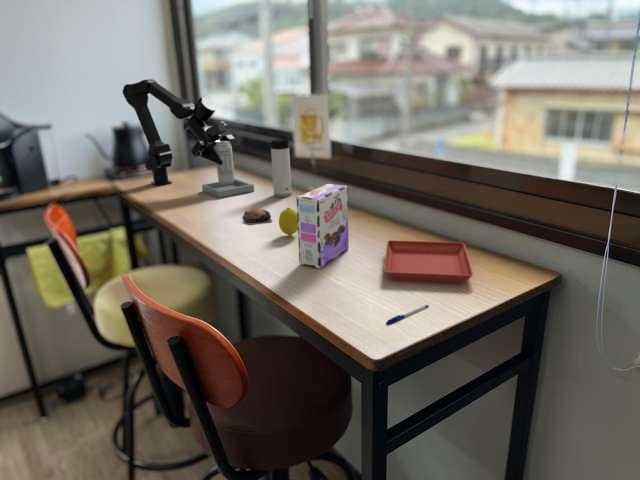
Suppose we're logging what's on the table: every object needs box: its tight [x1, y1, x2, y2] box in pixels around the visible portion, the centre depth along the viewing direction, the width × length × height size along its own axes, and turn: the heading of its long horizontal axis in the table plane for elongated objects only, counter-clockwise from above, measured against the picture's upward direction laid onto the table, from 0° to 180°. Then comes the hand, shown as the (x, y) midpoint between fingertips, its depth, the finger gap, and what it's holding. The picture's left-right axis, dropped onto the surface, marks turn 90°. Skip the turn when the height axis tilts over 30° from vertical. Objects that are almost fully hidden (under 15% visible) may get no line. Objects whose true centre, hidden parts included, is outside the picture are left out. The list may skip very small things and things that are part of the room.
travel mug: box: [270, 137, 293, 198], centre depth 166 cm, size 6×7×20 cm
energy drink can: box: [214, 141, 236, 185], centre depth 173 cm, size 6×6×15 cm
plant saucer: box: [383, 239, 474, 284], centre depth 106 cm, size 18×18×3 cm
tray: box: [201, 178, 255, 200], centre depth 176 cm, size 14×14×2 cm
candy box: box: [296, 183, 350, 269], centre depth 111 cm, size 14×6×16 cm, turn 148°
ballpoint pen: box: [385, 304, 429, 326], centre depth 87 cm, size 10×1×1 cm, turn 127°
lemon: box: [278, 206, 298, 237], centre depth 128 cm, size 6×6×8 cm
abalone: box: [242, 208, 273, 226], centre depth 144 cm, size 11×8×4 cm
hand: (227, 162), depth 172 cm, fingers closed on energy drink can, 6 cm apart
